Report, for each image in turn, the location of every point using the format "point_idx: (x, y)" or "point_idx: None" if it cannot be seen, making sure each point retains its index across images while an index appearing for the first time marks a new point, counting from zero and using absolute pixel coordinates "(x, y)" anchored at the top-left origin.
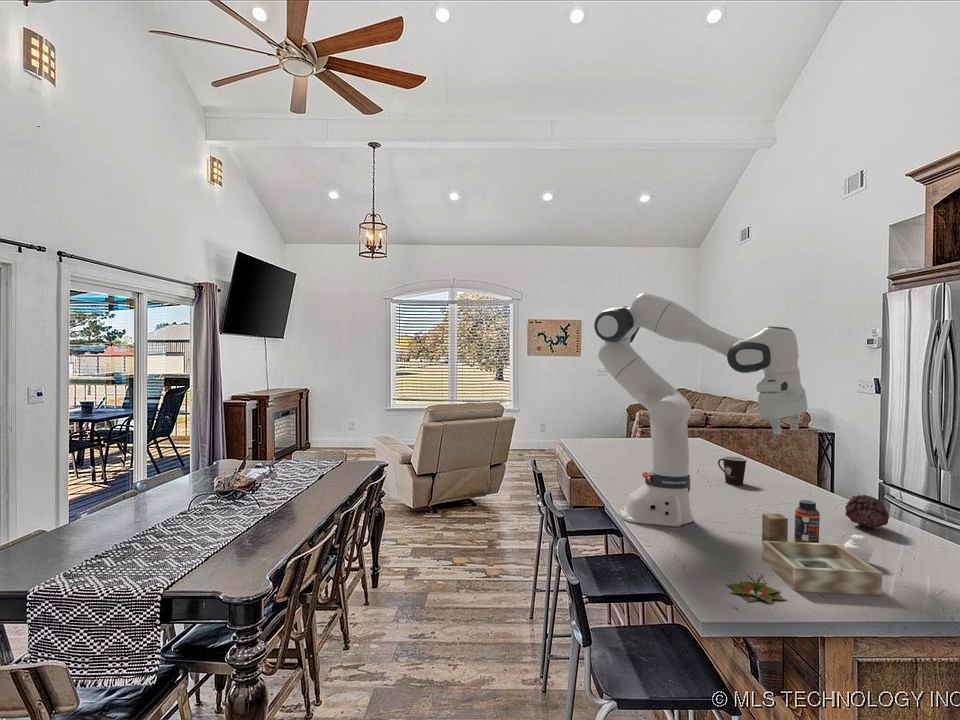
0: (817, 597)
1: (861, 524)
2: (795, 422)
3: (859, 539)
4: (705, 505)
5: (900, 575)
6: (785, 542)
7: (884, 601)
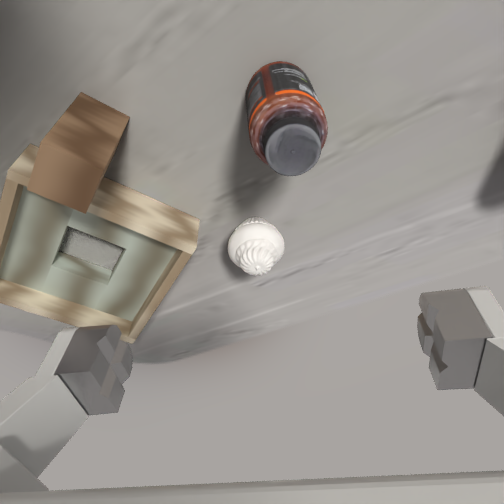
0: None
1: None
2: (486, 386)
3: (244, 271)
4: None
5: (258, 285)
6: None
7: None
